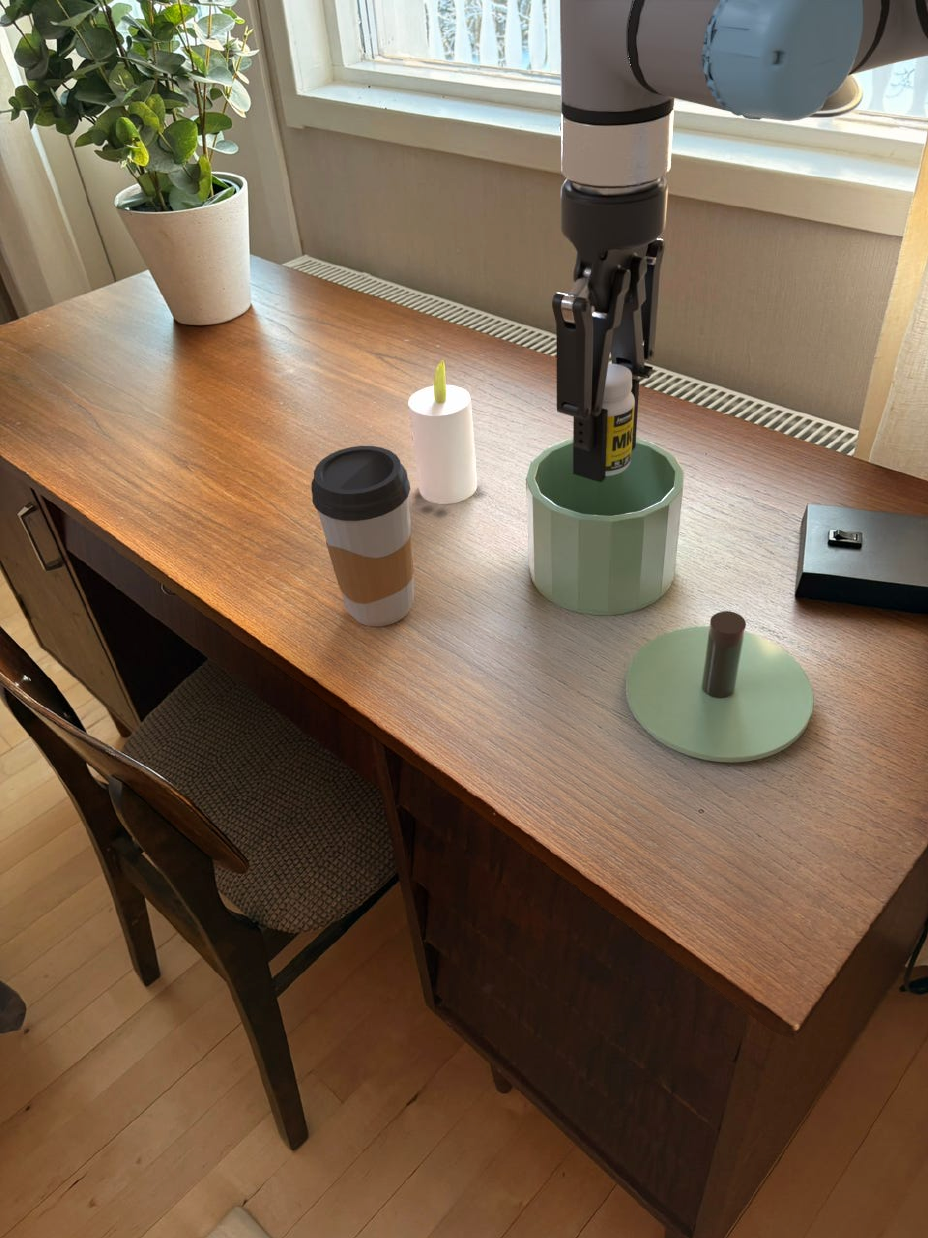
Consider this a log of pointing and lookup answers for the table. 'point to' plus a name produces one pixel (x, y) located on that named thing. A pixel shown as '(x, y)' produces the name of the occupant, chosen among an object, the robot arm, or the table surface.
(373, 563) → the coffee cup
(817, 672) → the table surface
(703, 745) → the lid
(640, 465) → the pot
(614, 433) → the supplement bottle
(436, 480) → the candle
